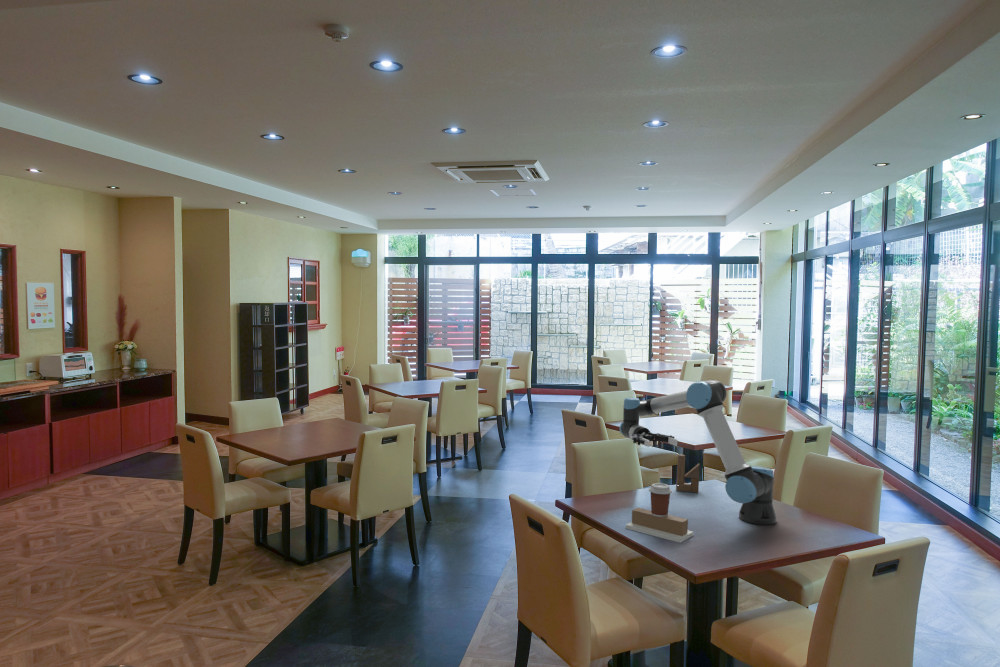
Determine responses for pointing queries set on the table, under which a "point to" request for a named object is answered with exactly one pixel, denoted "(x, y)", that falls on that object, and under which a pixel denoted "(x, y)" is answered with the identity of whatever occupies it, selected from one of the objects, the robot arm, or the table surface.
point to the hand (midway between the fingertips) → (662, 443)
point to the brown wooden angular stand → (687, 476)
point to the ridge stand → (659, 525)
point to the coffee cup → (660, 499)
